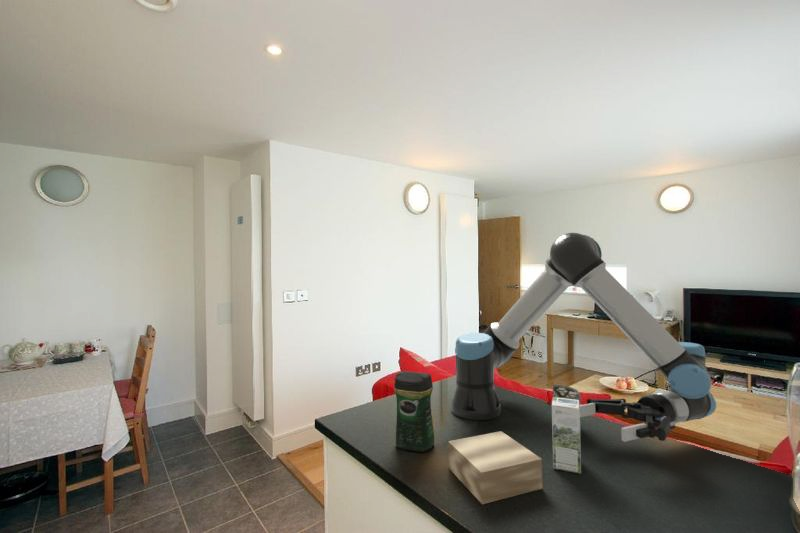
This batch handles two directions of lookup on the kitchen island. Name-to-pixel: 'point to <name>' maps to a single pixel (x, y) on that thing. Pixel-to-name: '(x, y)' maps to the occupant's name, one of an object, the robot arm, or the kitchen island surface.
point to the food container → (566, 392)
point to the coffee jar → (414, 411)
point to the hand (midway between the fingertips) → (596, 422)
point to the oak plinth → (494, 466)
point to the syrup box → (566, 435)
